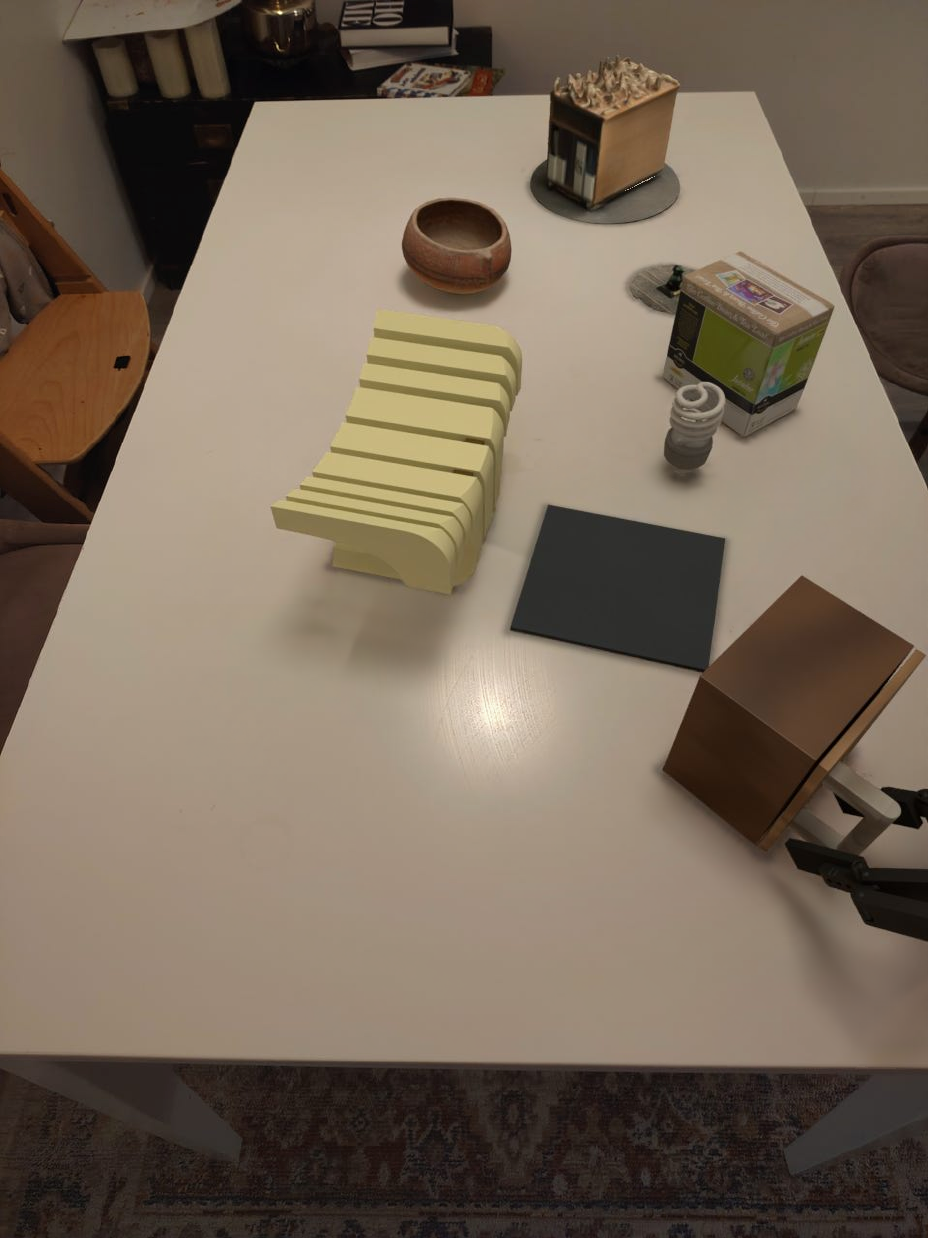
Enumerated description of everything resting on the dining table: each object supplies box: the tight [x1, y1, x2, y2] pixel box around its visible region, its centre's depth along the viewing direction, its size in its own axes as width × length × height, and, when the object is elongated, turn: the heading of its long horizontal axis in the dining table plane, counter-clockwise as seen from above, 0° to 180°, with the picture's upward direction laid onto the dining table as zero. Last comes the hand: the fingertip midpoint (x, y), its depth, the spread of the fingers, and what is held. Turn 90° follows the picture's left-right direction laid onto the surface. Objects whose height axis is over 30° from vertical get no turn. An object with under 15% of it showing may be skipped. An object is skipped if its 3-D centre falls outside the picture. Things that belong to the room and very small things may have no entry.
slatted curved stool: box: [269, 308, 523, 596], centre depth 86 cm, size 30×16×18 cm, turn 166°
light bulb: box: [663, 382, 725, 474], centre depth 93 cm, size 6×6×12 cm
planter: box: [530, 54, 681, 224], centre depth 132 cm, size 25×25×19 cm
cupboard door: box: [758, 649, 927, 856], centre depth 66 cm, size 6×14×16 cm, turn 134°
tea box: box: [662, 251, 835, 438], centre depth 101 cm, size 15×10×15 cm, turn 34°
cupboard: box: [662, 575, 915, 846], centre depth 69 cm, size 10×14×16 cm
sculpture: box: [629, 264, 697, 315], centre depth 121 cm, size 12×9×8 cm
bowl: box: [401, 197, 513, 295], centre depth 119 cm, size 16×16×10 cm
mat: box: [509, 504, 726, 673], centre depth 88 cm, size 20×18×1 cm
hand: (817, 825), depth 67 cm, fingers open, 6 cm apart
